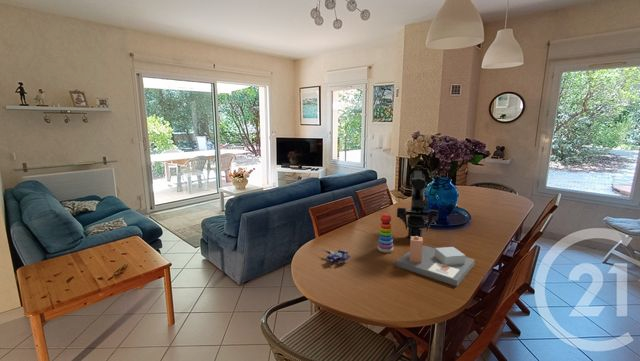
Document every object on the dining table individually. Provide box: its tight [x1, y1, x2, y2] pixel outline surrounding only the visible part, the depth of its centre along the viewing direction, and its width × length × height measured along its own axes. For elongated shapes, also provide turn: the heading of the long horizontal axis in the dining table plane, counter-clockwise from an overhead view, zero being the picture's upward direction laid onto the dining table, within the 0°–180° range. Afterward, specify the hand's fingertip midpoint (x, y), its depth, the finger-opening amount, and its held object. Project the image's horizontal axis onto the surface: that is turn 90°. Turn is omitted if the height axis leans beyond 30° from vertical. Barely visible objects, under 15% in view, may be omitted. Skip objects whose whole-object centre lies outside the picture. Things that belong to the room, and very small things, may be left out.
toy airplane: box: [320, 249, 351, 265], centre depth 140 cm, size 13×14×4 cm
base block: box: [434, 246, 466, 265], centre depth 134 cm, size 9×9×4 cm
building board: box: [395, 244, 476, 287], centre depth 134 cm, size 26×24×3 cm
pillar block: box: [409, 236, 424, 263], centre depth 134 cm, size 5×5×11 cm
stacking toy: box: [376, 213, 395, 254], centre depth 149 cm, size 8×8×19 cm
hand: (416, 230), depth 140 cm, fingers open, 9 cm apart
